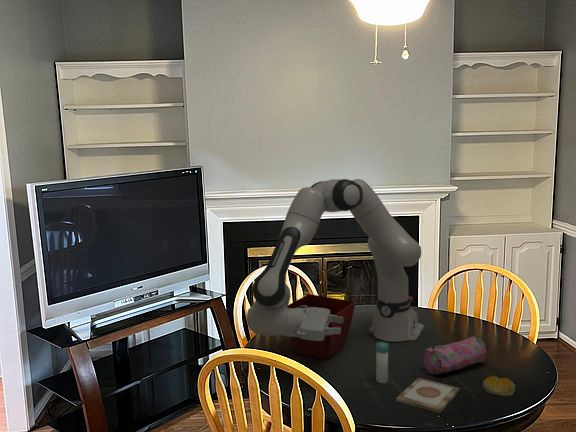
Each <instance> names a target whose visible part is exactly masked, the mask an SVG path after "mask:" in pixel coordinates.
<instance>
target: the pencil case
mask: <svg viewBox="0 0 576 432" xmlns="http://www.w3.org/2000/svg"><path fill="white" fill-rule="evenodd" d="M486 357H487V347H486V344H485V343H484V341H483V340H481V339H480V338H478V337H476V336H473V335H471V336H470V337H468V338H466V339H464V340H460V341H455V342H451V343H447V344H443V345H442V344H441V345H435V346H430V347H428V348H427V349H425V350H424V352H423V366H424V370H425V371H426V372H427V373H428V374H429V373H430V375H432V374H433V375H434V376H436V375H441V374H446V373H449V372H453V371H459V370H461V369H463V368H465V367H468V366H471V365H474V364H478V363H482V362H484V360H486ZM433 375H432V376H433Z"/></svg>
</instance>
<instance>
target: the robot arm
mask: <svg viewBox="0 0 576 432" xmlns="http://www.w3.org/2000/svg"><path fill="white" fill-rule="evenodd" d="M348 211H350V213H351V215H352V216H353V218H354V219H355V220H356V222H357V223H358V225H359V227H360V228H361V229H362V231H363V232H364V233H365V234H366V236H368V240H367V247H368V249H369V250H370V252H371V254H372V257H373V262H374V265H375V270H376V274H377V297H376V301H375V302H376V303H375V304H376V309H375V310H373V315H372V316H373V319H372V326H370V327H369V332H370V333H372V335H373V336H374V337H375V338H376V339H379V340H381V341H384V342H392V343H393V342H394V343H395V342H396V343H397V342H406V341H417V340H418V338H419V336H420V335H421V333H422V332H421V331H423V330H424V329H425V326H424V324H422V323H420V322H418V321H419V319H418V316H419V315H418V313H417V312H416V311H415V310H414V309H413V308H412V307H411V303H412V302H413V299H414V298H413V296H410V295H409V276H408V275H407V273H406V271H405V269H404V267H406V268H407V267H413V266H414V265H416V264H417V263H418V262H419V260H420V259H421V256H422V247H421V245H420V244H419V242H418V241H416V240H415V239H414V238H412V236H411V235H410V234H409V233H408V232H407V231H406V230H405V229H404V228H403V226H401V224H400V223H399V222H397V220H396V219H395V218H394V217H393V216H392V215H391V213H390V212H389V210H388V208H387V207H386V206H385V204H384V203H383V201H382V200H381V199H380V197H379V196H378V194H377V193H376V192H375V191H374V189H373V188H372V187H371V186H370V185H369V183H367V182H366V181H365V180H364V179H361V178H355V179H352V180H351V179H348V178H343V179H341V178H340V179H339V178H338V179H336V178H335V179H329V180H322V181H321V180H320V181H317V182H315V183H314V184H312V185H311V186H305V187H302V188H300V189H299V190H298V192H297V193H296V194H295V196H294V198H293V200H292V202H291V203H290V206H289V207H288V211H287V213H286V216H285V218H284V221H283V225H282V228H281V230H280V235H279V237H278V239H277V241H276V244H275V247H274V249H273V251H272V254H271V256H270V258H269V260H268V261H267V262H268V263H267V265H266V266H265V268H264V270H263V271H262V272H261V273H260V274H259V275H257V277H256V278H255V280H254V282H253V284H252V288H251V291H252V296H253V298H254V299H255V301H254V302H253V303H252V305H251V306H250V307H249V308H248V310H247V312H246V313H247V314H246V321H247V325H248V329H249V330H250V331H251V332H252V333H253V334H255V335H256V334H257V335H262V336H271V337H274V336H284V337H287V338H290V337H300V338H302V339H305V340H313V341H322V340H324V337H325V335H333V334H340V333H341V327H335V328H329V327H328V325H329V322H337V323H341V324H342V323H343V322H344V318H343V317H338V316H336V315H330V310H329V309H326V308H317V307H309V308H307V306H306V305H301V306H300V307H298V308H288V305H289V304H290V300H291V290H290V287H289V286H288V284H287V283H286V275H287V272H288V270H289V268H290V265H291V263H292V261H293V258H294V256H295V253H296V252H297V251H298V250H299V249H300V248H302V247H304V246H307V245H308V244H310V243H311V241H312V240H313V239H314V236H315V235H316V233H317V231H318V230H317V229H318V228H319V225H320V222H321V218H322V215H324V213H337V212H348ZM416 339H417V340H416Z"/></svg>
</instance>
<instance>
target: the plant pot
mask: <svg viewBox="0 0 576 432" xmlns="http://www.w3.org/2000/svg"><path fill="white" fill-rule="evenodd" d="M355 304H356V302H355V301H352V300H347V299H342V298H341V299H340V298H337V297H335V298H334V297H330V296H324V295H317V294H311V293H309V294H306V295H304V296H302V297H300V298H298V299H297V300H295V301H293V302H291V303H289V304H288V308H298V307H300V306H301V305H306V306H307V308H309V307H317V308H326V309H329V310H330V315H336V316H338V317H343V318H344V322H343V323H342V324H341V323H337V322H329V325H328V327H329V328H335V327H341V333H340V334H333V335H325V337H324V340H322V341H313V340H305V339H302V338H300V337H289V339H290V341H291V344H292V347H293V348H294V349H293V350H294V351H295V353H296V354H300V355H305V356H309V357H312V358H318V359H322V360H329V359H331V357H333V356H334V355H336V354H337V353H338V352H339V351H341V350H342V349H343V348H344V346H345V343H346V340H347V338H348V335H349V330H350V328H351V324H352V321H353V316H354V311H355V307H356V305H355Z"/></svg>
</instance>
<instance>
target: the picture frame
mask: <svg viewBox="0 0 576 432" xmlns="http://www.w3.org/2000/svg"><path fill="white" fill-rule="evenodd" d="M460 391H461V390H460V387H456V386H452V385H448V384H446V383H445V384H444V383H440V382H436V381H433V380H428V379H425V378H421V377H418V378H416V379H415V380H414V382H412V383H411V384H410V385H409V386H408V387H407V388H406V389H404V390H403V392H401V393H400V394H399V395H398V396H397V397H396V399H395V400H396V403H400V404H401V403H402V404H404V405H407V406H412V407H416V408H420V409H423V410H426V411H429V412H433V413H437V414H441V412H442V411H443V410H445V408H446V407H448V404H450V403H451V401H452V400H453V399H454V398H455V397H456V396H457V395H458V394H459V393H460Z"/></svg>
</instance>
